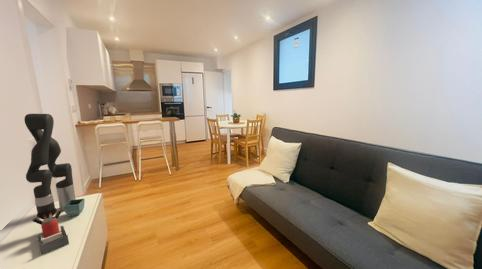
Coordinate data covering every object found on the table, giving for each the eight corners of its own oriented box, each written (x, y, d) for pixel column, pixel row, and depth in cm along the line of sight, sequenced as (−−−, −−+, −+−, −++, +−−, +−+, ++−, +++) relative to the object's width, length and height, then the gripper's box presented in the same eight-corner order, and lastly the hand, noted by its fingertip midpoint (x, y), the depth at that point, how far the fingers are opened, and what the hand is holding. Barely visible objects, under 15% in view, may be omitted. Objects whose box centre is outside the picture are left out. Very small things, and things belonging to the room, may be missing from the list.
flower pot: (86, 209, 141) (84, 198, 140) (80, 216, 133) (79, 204, 132) (71, 211, 139) (69, 200, 137) (65, 219, 131) (62, 206, 129)
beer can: (42, 244, 107) (38, 224, 105) (47, 237, 113) (43, 218, 111) (58, 240, 110) (54, 221, 108) (62, 233, 116) (58, 214, 114)
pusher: (43, 245, 106) (42, 239, 105) (62, 238, 112) (61, 231, 111) (43, 246, 106) (42, 239, 105) (62, 238, 111) (61, 232, 111)
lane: (38, 239, 111) (36, 231, 110) (63, 230, 119) (62, 222, 118) (40, 255, 99) (39, 246, 99) (69, 243, 108) (67, 235, 107)
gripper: (59, 196, 123) (63, 220, 126) (28, 204, 113) (34, 231, 117) (60, 200, 118) (65, 226, 121) (28, 209, 108) (34, 237, 112)
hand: (50, 228), depth 119 cm, fingers closed
